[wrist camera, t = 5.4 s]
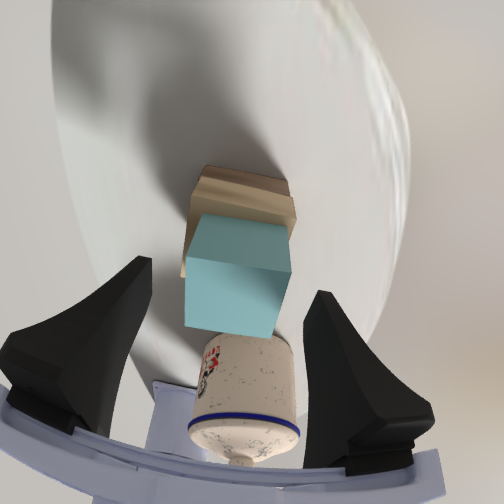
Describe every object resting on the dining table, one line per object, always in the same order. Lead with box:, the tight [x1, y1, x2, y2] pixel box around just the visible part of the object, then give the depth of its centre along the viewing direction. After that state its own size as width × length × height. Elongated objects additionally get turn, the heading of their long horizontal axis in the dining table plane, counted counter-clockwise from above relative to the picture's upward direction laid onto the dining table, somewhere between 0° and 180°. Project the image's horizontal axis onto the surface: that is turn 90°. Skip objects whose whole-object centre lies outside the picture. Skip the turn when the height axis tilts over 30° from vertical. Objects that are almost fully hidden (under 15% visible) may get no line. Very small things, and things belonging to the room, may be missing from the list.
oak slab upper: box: [180, 176, 297, 278], centre depth 16 cm, size 5×5×2 cm
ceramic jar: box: [188, 333, 300, 467], centre depth 24 cm, size 12×9×12 cm
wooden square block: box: [198, 165, 290, 197], centre depth 18 cm, size 5×5×2 cm
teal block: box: [185, 213, 292, 339], centre depth 14 cm, size 4×4×4 cm
